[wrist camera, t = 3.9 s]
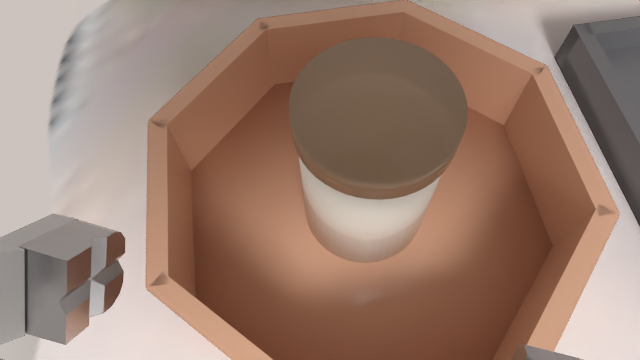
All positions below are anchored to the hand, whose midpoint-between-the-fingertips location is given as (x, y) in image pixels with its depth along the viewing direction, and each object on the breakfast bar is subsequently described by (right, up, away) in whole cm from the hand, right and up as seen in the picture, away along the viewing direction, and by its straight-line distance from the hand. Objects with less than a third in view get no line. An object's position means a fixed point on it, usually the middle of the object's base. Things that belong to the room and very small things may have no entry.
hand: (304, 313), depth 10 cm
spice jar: (+2, +1, +13) cm, 13 cm away
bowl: (+2, +1, +14) cm, 14 cm away
